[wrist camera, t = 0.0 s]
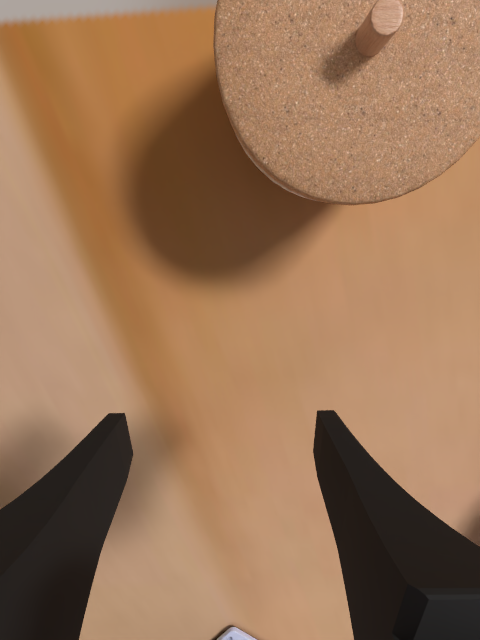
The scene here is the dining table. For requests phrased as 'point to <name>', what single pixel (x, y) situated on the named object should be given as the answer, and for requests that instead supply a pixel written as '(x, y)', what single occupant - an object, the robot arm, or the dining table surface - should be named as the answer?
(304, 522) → the dining table surface
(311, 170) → the lidded jar
